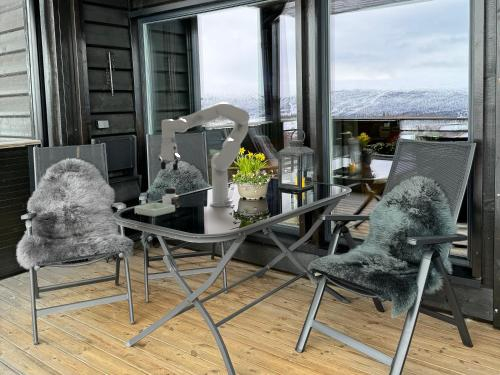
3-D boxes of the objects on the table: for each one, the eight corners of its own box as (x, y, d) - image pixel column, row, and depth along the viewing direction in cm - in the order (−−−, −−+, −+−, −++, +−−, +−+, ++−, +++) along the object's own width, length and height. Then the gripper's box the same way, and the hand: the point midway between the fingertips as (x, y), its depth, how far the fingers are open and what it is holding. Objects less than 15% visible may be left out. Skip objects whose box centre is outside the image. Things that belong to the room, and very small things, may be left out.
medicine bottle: (171, 209, 303) (171, 189, 301) (162, 208, 307) (161, 188, 305) (179, 207, 309) (178, 187, 307) (170, 206, 313) (169, 186, 311)
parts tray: (175, 211, 296) (174, 205, 296) (154, 216, 284) (154, 210, 283) (155, 208, 306) (155, 202, 305) (134, 213, 293) (134, 207, 292)
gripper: (183, 141, 299) (184, 170, 302) (162, 139, 309) (163, 168, 312) (174, 141, 293) (175, 171, 296) (153, 140, 303) (154, 169, 306)
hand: (169, 169), depth 304 cm, fingers open, 9 cm apart
